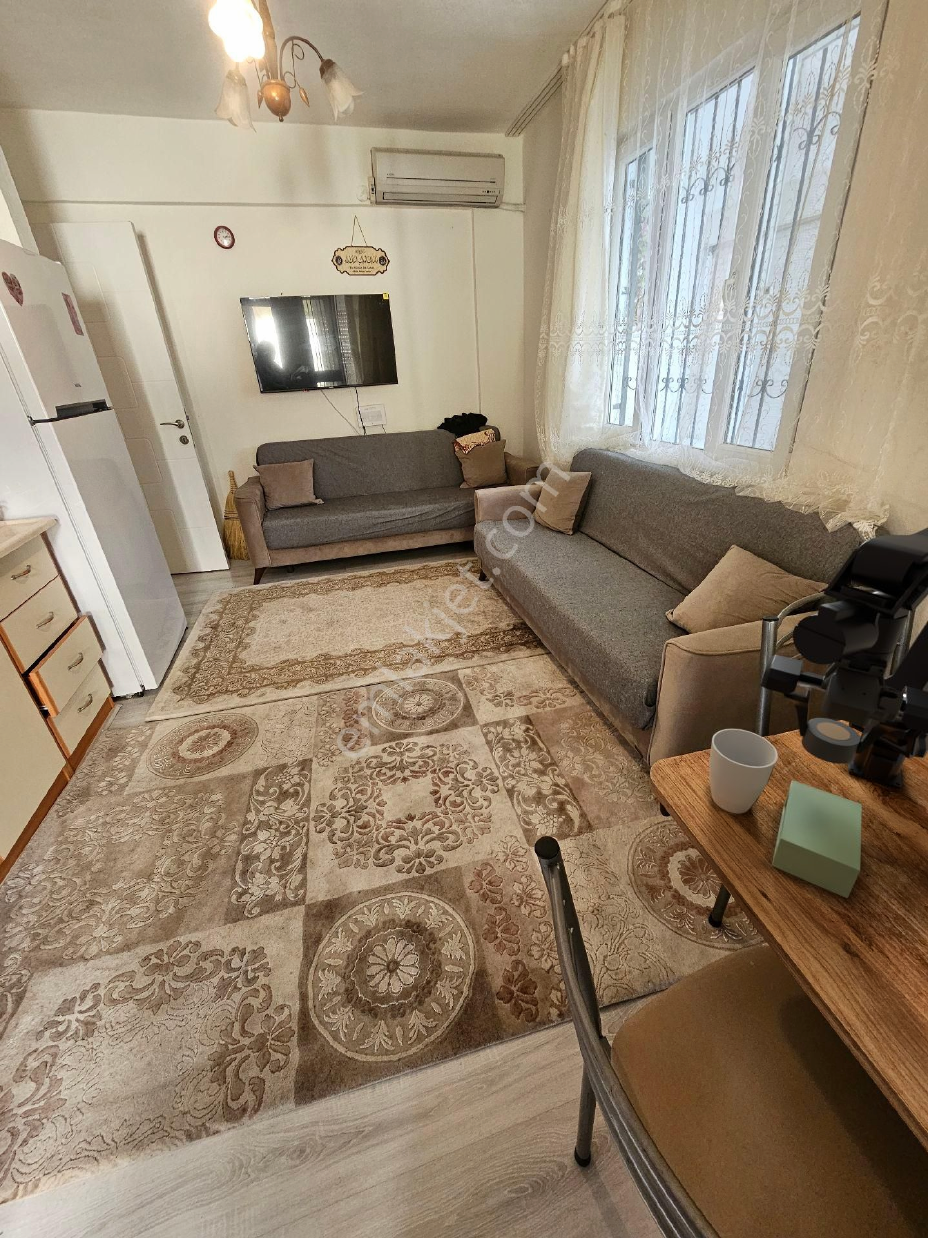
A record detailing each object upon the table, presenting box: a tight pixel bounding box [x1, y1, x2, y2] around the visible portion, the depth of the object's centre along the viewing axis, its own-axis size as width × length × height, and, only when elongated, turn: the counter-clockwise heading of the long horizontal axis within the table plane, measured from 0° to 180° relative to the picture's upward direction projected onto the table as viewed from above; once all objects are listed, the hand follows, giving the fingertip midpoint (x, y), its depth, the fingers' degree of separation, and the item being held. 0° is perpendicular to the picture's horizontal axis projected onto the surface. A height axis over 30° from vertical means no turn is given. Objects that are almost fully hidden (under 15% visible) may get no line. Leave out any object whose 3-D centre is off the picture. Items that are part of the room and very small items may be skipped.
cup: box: [708, 728, 779, 814], centre depth 72 cm, size 8×8×10 cm
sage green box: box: [771, 780, 863, 899], centre depth 66 cm, size 12×8×5 cm, turn 144°
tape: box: [801, 717, 861, 765], centre depth 68 cm, size 6×6×3 cm
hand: (828, 743), depth 69 cm, fingers closed on tape, 6 cm apart
